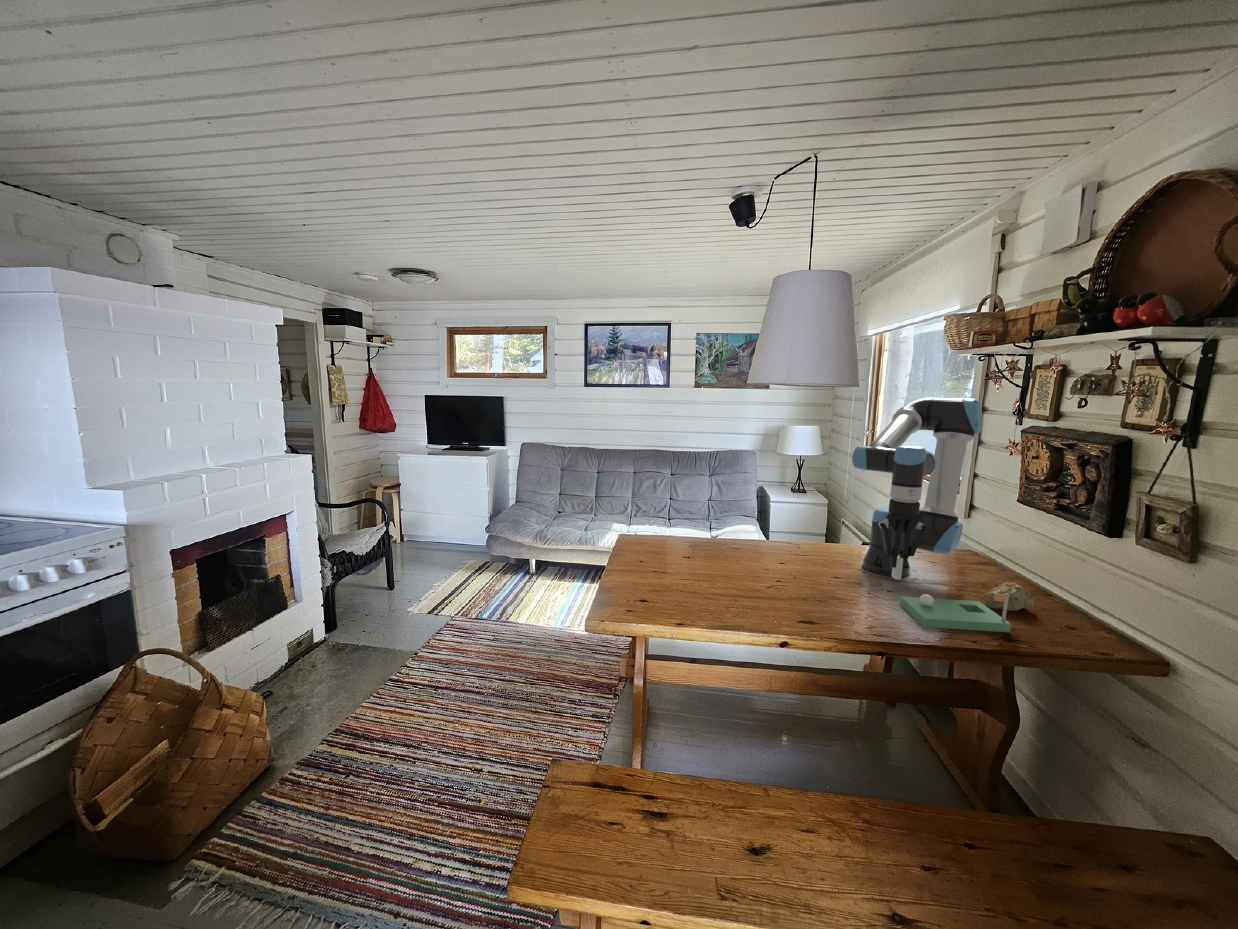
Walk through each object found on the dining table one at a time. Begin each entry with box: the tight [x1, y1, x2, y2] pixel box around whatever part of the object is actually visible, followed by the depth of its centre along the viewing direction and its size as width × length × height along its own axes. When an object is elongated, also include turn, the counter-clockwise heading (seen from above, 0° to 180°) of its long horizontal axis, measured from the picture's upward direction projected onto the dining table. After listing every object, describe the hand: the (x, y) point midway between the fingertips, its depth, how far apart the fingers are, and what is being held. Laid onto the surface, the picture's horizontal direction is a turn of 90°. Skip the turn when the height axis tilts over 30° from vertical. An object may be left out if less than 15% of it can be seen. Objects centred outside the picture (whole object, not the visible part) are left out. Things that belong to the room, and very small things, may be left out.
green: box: [900, 593, 1012, 633], centre depth 134 cm, size 14×22×10 cm, turn 83°
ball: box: [919, 593, 935, 606], centre depth 137 cm, size 4×4×4 cm
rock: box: [983, 581, 1036, 612], centre depth 143 cm, size 12×9×10 cm
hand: (896, 577), depth 137 cm, fingers closed
